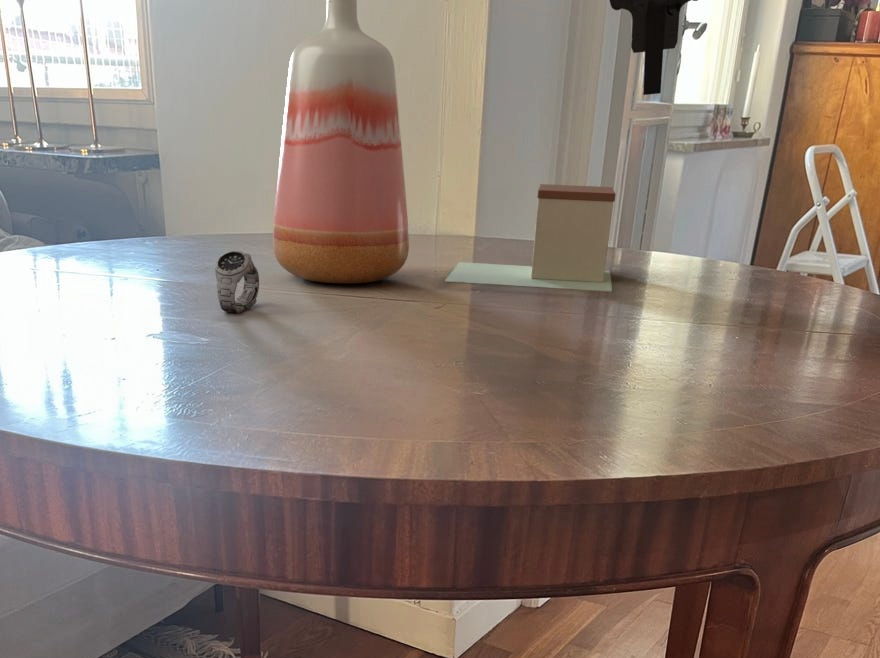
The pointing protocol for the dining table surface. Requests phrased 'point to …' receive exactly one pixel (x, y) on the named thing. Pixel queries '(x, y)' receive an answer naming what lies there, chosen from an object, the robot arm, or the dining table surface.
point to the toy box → (572, 232)
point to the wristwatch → (236, 281)
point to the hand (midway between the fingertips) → (651, 85)
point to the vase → (341, 159)
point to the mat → (518, 277)
